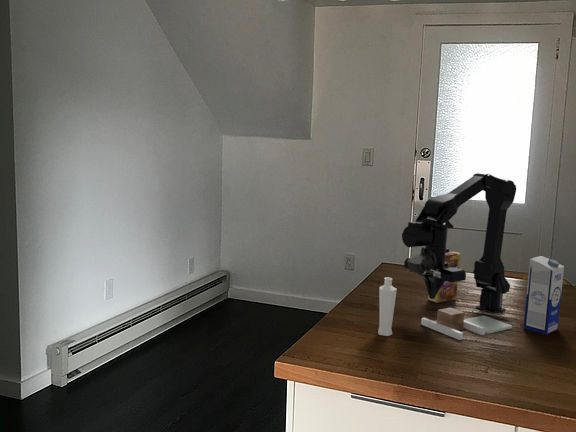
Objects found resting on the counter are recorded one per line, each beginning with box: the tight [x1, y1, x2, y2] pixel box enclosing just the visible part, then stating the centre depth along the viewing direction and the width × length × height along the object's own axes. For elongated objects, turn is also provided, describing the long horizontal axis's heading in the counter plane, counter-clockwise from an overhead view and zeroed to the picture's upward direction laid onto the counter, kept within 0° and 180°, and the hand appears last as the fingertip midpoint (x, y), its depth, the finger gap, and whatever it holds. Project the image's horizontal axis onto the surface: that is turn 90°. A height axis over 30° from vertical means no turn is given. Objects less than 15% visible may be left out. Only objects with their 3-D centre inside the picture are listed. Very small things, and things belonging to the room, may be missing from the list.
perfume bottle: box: [377, 276, 398, 337], centre depth 170 cm, size 5×4×15 cm
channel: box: [421, 317, 486, 341], centre depth 176 cm, size 10×14×2 cm
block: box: [436, 307, 465, 332], centre depth 177 cm, size 5×5×5 cm
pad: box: [464, 315, 513, 335], centre depth 181 cm, size 10×10×1 cm
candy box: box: [427, 250, 462, 304], centre depth 204 cm, size 9×4×15 cm, turn 123°
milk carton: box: [522, 255, 565, 335], centre depth 178 cm, size 7×7×20 cm
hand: (431, 298), depth 183 cm, fingers closed
